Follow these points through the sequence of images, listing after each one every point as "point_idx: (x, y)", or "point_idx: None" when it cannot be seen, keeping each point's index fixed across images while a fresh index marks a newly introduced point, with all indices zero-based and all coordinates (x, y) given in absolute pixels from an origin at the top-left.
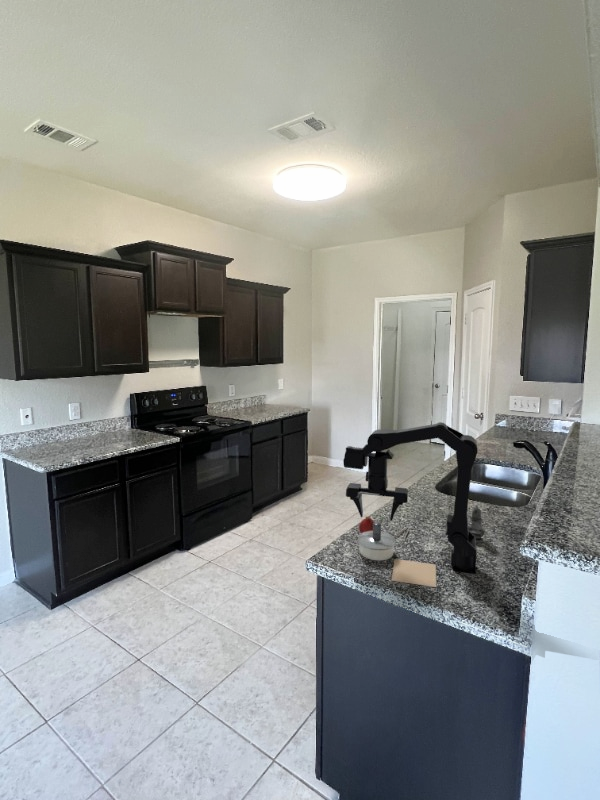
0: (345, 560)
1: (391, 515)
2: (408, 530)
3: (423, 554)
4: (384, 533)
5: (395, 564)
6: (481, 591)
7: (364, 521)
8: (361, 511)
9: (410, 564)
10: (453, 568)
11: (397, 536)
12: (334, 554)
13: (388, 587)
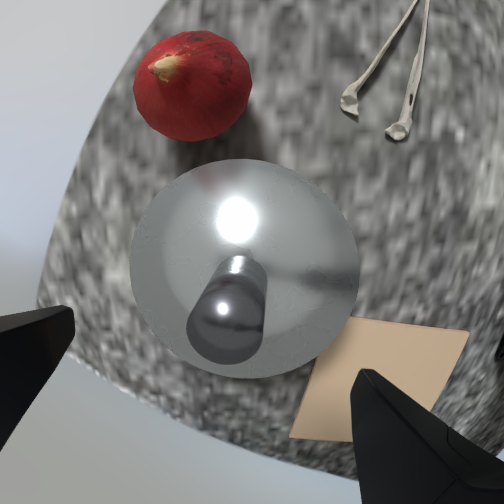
0: (119, 323)
1: (361, 459)
2: (426, 25)
3: (459, 250)
4: (299, 199)
5: (324, 357)
6: (498, 417)
7: (149, 93)
8: (38, 392)
9: (385, 349)
10: (502, 350)
11: (373, 69)
12: (75, 280)
13: (274, 453)
